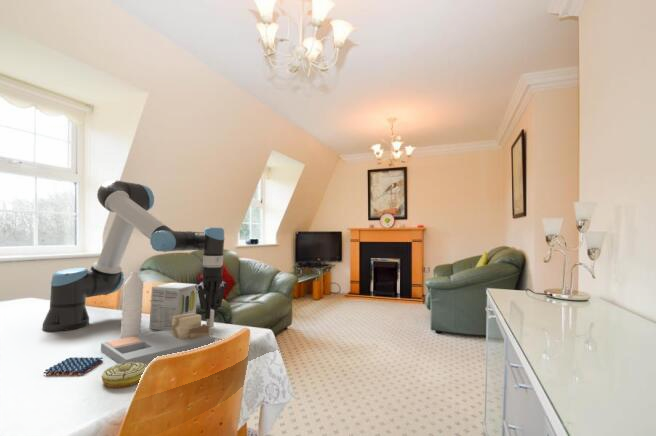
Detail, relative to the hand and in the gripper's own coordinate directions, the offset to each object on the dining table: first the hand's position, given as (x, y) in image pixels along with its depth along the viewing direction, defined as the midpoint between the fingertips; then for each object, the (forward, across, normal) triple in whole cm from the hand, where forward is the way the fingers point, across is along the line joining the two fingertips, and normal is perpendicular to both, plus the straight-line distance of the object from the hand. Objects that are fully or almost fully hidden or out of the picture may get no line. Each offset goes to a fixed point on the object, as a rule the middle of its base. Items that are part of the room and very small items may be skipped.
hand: (209, 326), depth 128 cm
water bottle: (+4, -20, +19) cm, 28 cm away
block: (+1, -10, 0) cm, 10 cm away
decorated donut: (+4, -36, -18) cm, 41 cm away
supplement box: (+4, -3, +23) cm, 24 cm away
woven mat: (+4, -43, +1) cm, 43 cm away
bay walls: (+1, -8, 0) cm, 8 cm away
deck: (+4, -19, +1) cm, 19 cm away
